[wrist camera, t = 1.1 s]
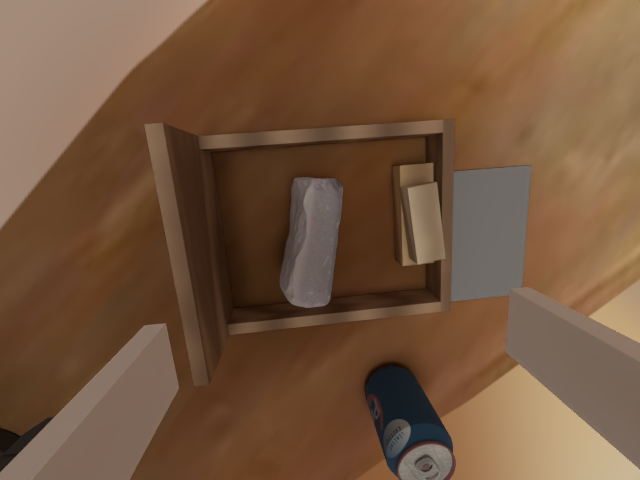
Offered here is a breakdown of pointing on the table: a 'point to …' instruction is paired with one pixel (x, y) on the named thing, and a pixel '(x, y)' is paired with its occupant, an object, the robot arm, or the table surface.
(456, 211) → the mat
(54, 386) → the table surface
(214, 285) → the wooden tray
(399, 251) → the block
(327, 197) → the stone block
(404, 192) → the offcut short
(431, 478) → the soda can
